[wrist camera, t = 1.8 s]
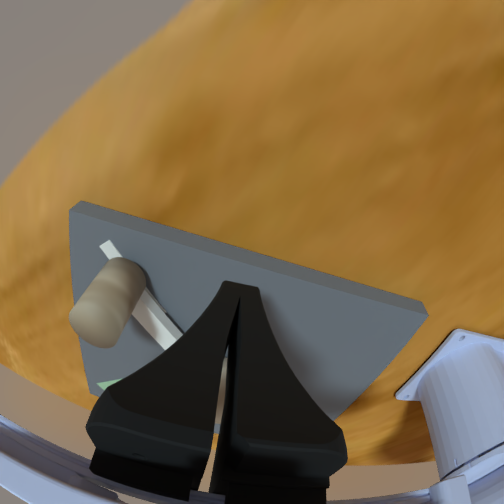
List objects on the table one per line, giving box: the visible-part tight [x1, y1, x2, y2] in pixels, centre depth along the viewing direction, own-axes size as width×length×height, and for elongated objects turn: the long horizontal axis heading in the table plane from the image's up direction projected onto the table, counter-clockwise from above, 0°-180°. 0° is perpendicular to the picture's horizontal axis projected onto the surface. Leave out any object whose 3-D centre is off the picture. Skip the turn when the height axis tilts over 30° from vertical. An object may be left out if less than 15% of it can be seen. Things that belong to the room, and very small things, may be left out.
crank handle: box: [69, 257, 227, 424], centre depth 15 cm, size 13×5×4 cm, turn 28°
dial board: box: [69, 201, 429, 434], centre depth 19 cm, size 20×18×1 cm
